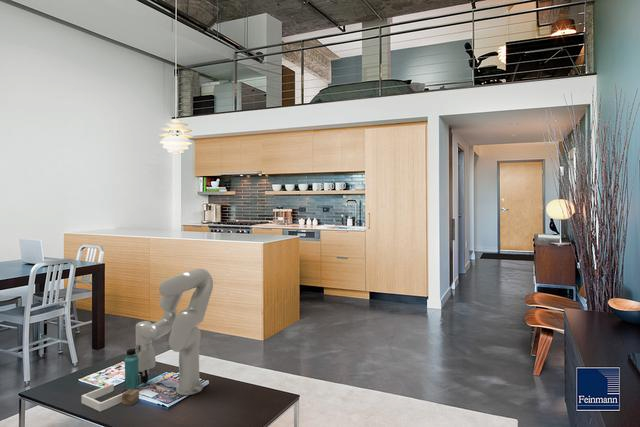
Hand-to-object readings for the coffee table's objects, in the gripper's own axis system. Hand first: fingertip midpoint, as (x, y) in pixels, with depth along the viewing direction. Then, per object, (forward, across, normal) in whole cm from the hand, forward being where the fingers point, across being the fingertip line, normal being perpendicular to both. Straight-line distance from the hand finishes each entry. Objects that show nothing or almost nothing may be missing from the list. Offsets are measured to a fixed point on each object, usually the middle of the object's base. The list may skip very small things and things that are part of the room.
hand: (144, 382), depth 212 cm
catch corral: (+1, -20, 0) cm, 20 cm away
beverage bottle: (+1, -7, 0) cm, 7 cm away
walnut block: (+1, -15, -11) cm, 19 cm away
